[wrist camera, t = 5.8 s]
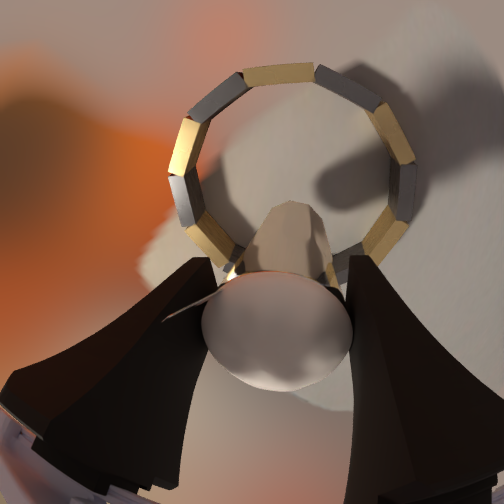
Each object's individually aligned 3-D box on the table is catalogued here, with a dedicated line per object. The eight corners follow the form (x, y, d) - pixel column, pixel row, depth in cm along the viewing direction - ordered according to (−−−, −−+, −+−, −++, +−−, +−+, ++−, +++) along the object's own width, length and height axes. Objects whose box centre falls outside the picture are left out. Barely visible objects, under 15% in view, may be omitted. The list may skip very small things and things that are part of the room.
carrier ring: (403, 68, 11) (416, 68, 9) (391, 271, 19) (397, 289, 17) (164, 88, 14) (148, 90, 13) (209, 272, 22) (201, 289, 20)
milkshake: (284, 158, 13) (231, 261, 5) (352, 233, 14) (387, 399, 6) (224, 214, 15) (127, 351, 7) (290, 278, 16) (262, 438, 8)
